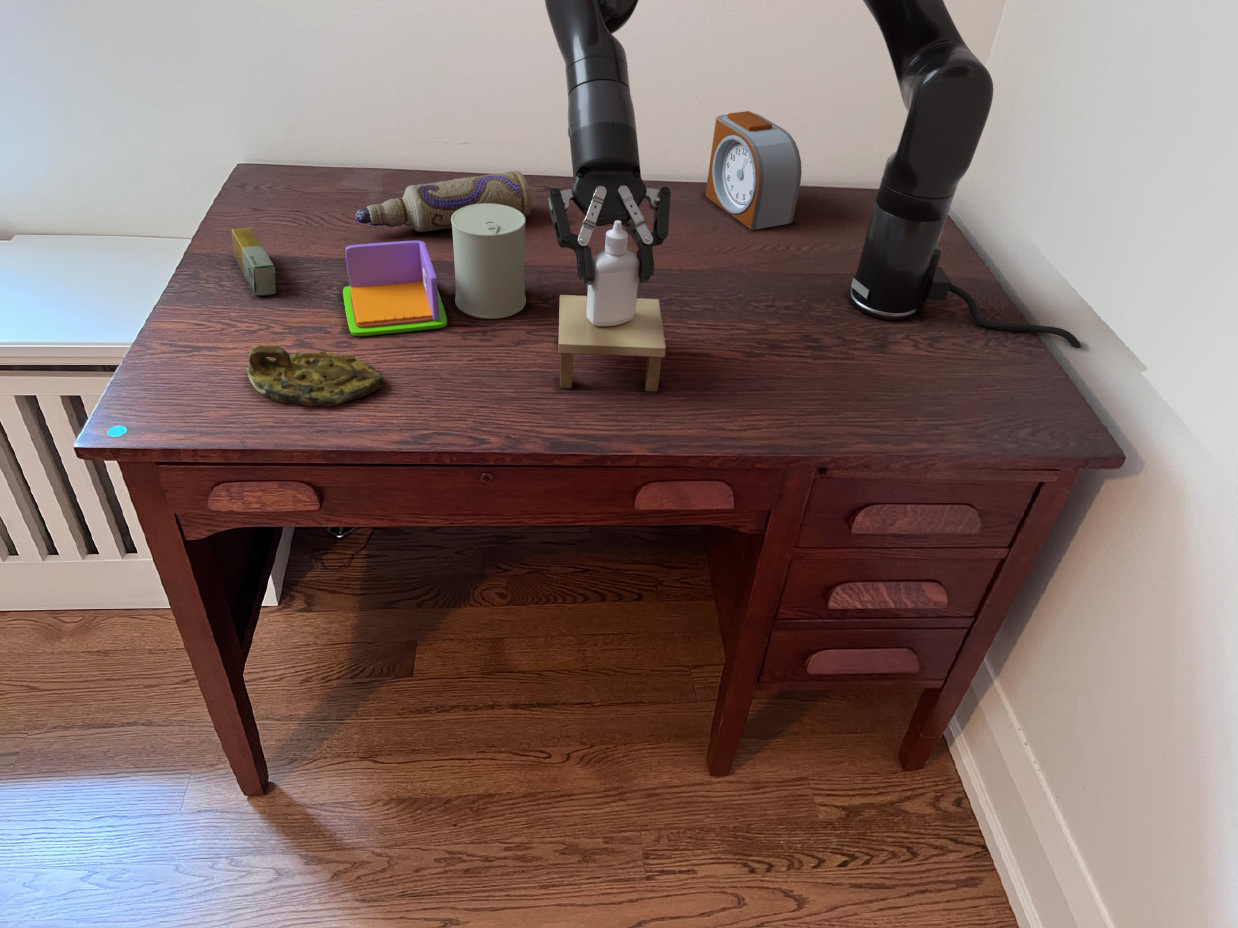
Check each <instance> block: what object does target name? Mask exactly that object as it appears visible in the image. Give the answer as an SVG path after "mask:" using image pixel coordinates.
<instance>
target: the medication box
mask: <svg viewBox="0 0 1238 928" xmlns="http://www.w3.org/2000/svg"><path fill="white" fill-rule="evenodd" d="M230 230H231V242H232V253H233V255H232V256H233V257H234V259H235V261H236V262H237V264H238V266H239V268H240V271H242V273H243V275H244V277H245V279H246V281H247V283H248V285H249V287H250V288H251V290H252V292H253V294H254V295H255V297H268V296H275V295H276V294H277V289H276V287H277V286H276V268H275V267H276V266H275V265H274V263H273V261H272V260H271V258H270V256H269V255H268V254H267V252H266V250H265V249H264V247H263V245H262V244H261V242H260V240H259V239H258V237H257V235H256V233H255V232H254V230H253V229H252V228H251V227H240V228H239V227H237V228H231V229H230Z"/></svg>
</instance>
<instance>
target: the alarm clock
mask: <svg viewBox="0 0 1238 928" xmlns="http://www.w3.org/2000/svg"><path fill="white" fill-rule="evenodd" d="M802 173H803V172H802V160H801V155H800V151H799V148H798V145H797V143H796V141H795V140H794V138H793V137H792V135H791V134H790V133H789V132H788V131H787V130H785V128H783V127H782V126H779V125H778V124H776V123H774V122H773V121H771V120H769V119H767V118H765V117H764V116H762V115H760V114H758V113H755V112H752V111H751V110H746V111H737V112H729V113H727V114H720V115H718V116H717V117H716V118H715V123H714V130H713V137H712V145H711V151H710V159H709V167H708V174H707V182H706V187H705V197H706V198H707V199H709V200H710V201H711V202H712V203H714V204H715V205H717V207H719V208H721V209H722V210H724V212H726V213H727V214H729V215H730V216H732V217H733V218H734V219H736V220H737V221H738V222H740V223H741V224H742V225H744V226H745V227H746V228H748V229H749V230H750V231H755V230H761V229H766V228H771V227H772V228H773V227H778V226H782V225H788V224H792V223H793V220H794V216H795V211H796V207H797V201H798V197H799V192H800V188H801V183H802V181H801V180H802Z"/></svg>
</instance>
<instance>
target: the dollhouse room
mask: <svg viewBox="0 0 1238 928" xmlns="http://www.w3.org/2000/svg"><path fill="white" fill-rule="evenodd" d="M344 253H345V260H346V270H347V276H348V277H347V278H348V282H349V285H347V286H345V287H344V288H343V289H342V296H343V305H344V311H345V316H346V322H347V326H348V330H349V333H350V335H351V336H353V337H368V336H369V337H370V336H379V335H390V334H400V333H408V332H409V333H410V332H419V331H427V330H435V329H442V328H445V327H447V325H448V318H447V315H446V311H445V307H444V304H443V302H442V298H441V295H440V293H439V289H438V277H437V275H436V271H435V268H434V265H433V262H432V259H431V256H430V253H429V250H428V248H427V244H426V242H425V241H422V240H403V241H388V242H387V241H385V242H374V243H360V244H354V245H353V244H351V245H347V246H346V247H345V251H344Z"/></svg>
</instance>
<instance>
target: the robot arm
mask: <svg viewBox="0 0 1238 928" xmlns="http://www.w3.org/2000/svg"><path fill="white" fill-rule="evenodd" d="M639 1H640V0H544V2H545V9H546V13H547V16H548V20H549V22H550V23H549V24H550V26H551V29H552V32H553V35H554V38H555V41H556V43H557V46H558V47H557V48H558V49H559V51H560V54H561V56H562V58H563V61H564V62H563V63H564V67H565V69H564V70H565V80H566V89H567V124H568V126H567V135H568V137H569V146H570V156H571V165H572V166H571V167H572V179H573V182H572V183H573V184H572V186H571V188H567V189H563V190H560V189H559V188H557V187H553V188H551V189H550V191H549V194H548V197H547V199H546V203H547V207H548V210H549V214H550V218H551V222H552V226H553V229H554V234H555V237H556V241H557V244H558V246H559V247H560V248H562V249H565V248H567V249H570V250H572V251H573V252H574V254H575V260H576V268H577V277H578V279H579V281H583V284H584V286H588V285H592V283H593V281H594V275H593V265H592V258H593V256H592V246H589V242H590V240H591V237H592V234H593V232H594V229H595V226H596V227H604V226H608V225H612V226H614V222H615V221H616V220H619V221H621V225H622V227H623V226H624V229H625V230H626V232H627V234H628V236H631V238H632V239H633V242H634V243H635V245H636V246H637V247H636V248H637V249H638V250H637V251H636V256H637V257H638V259H639V262H640V267H639V279H638V282H639V283H640V284H647V283H648V282H649V281H650V279H651V277H652V276H653V275H654V274H655V261H654V250H653V247H656V246H661V245H662V244H663V243H664V241H665V239H666V238H667V237H668V236H669V228H670V227H669V225H670V210H671V209H670V207H671V193H672V191H671V189H670V188H669V187H668V186H662V187H661V188H660V189H659V188H651V187H647V186H646V184H645V182H644V181H643V178H642V175H641V163H640V154H639V143H638V133H637V123H636V114H635V108H634V107H635V106H634V104H633V100H632V99H633V98H632V94H631V86H630V85H631V84H630V75H629V65H628V58H627V54H626V50H625V48H624V46H623V44H622V43H621V42H620V41H619V39H617V38H616V37H615V36H614V35H613V34H615V33H617V32H618V31H619V30H620V29H622V28H623V27H624V26H625V25H626V24H627V23H628V21H629V20H630V19H631V17H632V15H633V14H634V12H635V10H636V8H637V6H638V3H639ZM862 1H863V3H864V5H865V6H866V8H867V9H868V11H869V13H870V14H871V15H872V17H873V19H874V21H875V22H876V24H877V26H878V28H879V30H880V32H881V35H882V37H883V40H884V42H885V46H886V48H887V52H888V54H889V57H890V61H891V64H892V68H893V71H894V73H895V77H896V81H897V84H898V88H899V91H900V96H901V98H902V102H903V105H904V107H905V108H906V110H907V115H906V119H905V122H904V126H903V129H902V132H901V136H900V139H899V142H898V145H897V149H896V151H895V152H893V153H891V154H890V155H889V156H888V158H887V159H886V162H885V164H884V168H883V173H882V177H881V180H880V183H879V188H878V191H877V193H876V198H875V203H874V206H873V209H872V213H871V217H870V221H869V224H868V227H867V232H866V235H865V240H864V242H863V246H862V251H861V254H860V257H859V262H858V265H857V269H856V273H855V276H854V277H853V278H852V281H851V284H850V287H851V288H850V291H849V297H848V299H849V301H850V303H851V304H852V306H853V307H854V308H856V309H857V310H858V311H860V312H861V313H863V314H865V315H868V316H870V317H873V318H876V319H881V320H887V321H902V320H907V319H910V318H913V317H914V316H917V317H918V316H919V317H921V316H922V315H923V311H924V308H925V306H926V302H927V300H928V301H929V300H930V301H946V300H947V297H948V295H949V292H950V293H952V294H954V295H956V296H958V297H959V298H960V299H962V300H963V301H964V302H965V303H966V304H967V306H968V309H969V313H970V317H971V319H972V321H973V322H974V323H976V324H977V325H979V326H980V327H983V328H987V329H998V330H1005V331H1006V330H1007V331H1023V332H1024V331H1025V332H1031V333H1039V334H1047V335H1049V334H1050V335H1055V336H1059V337H1061V338H1064V339H1065V340H1066V341H1067V342H1068V343H1069V344H1070V346H1072V347H1073V348H1076V349H1081V348H1082V346H1081V343H1080V341H1079V340H1078V338H1077V337H1076V336H1075V335H1074V334H1073V333H1071V332H1070V331H1068V330H1066V329H1064V328H1060V327H1055V326H1049V325H1048V326H1047V325H1038V324H1031V323H1022V322H1008V321H1007V322H1005V321H995V320H988V319H985V318H983V317H982V316H981V315H980V314H979V310H978V305H977V302H976V301H975V299H974V298H973V297H972V295H970V294H969V293H968V292H967V291H965V290H964V289H962V288H961V287H958V286H956V285H954V284H952V280H950V278H949V277H948V275H947V273H946V272H945V271H944V269H943V268H942V266H939V263H940V260H941V257H942V250H941V248H940V247H939V243H940V240H941V237H942V234H943V230H944V228H945V225H946V223H947V219H948V215H949V212H950V209H951V206H952V203H953V200H954V197H955V194H956V192H957V189H958V186H959V183H960V181H961V180H962V178H964V176H965V174H966V173H967V172H968V170H969V168H970V166H971V163H972V161H973V158H974V156H975V153H976V152H977V148H978V145H979V143H980V140H981V137H982V135H983V132H984V129H985V126H986V124H987V120H988V118H989V114H990V111H991V108H992V103H993V98H994V82H993V78H992V75H991V74H990V71H989V70H988V68H987V67H986V66H985V65H984V64H983V63H982V62H981V61H980V59H979V58H978V57H977V56H976V55H975V54H974V53H973V52H972V51H971V49H970V48H969V46H968V45H967V43H966V42H965V41H964V39H963V36H962V35H961V34H960V31H959V29H958V28H957V26H956V24H955V22H954V20H953V18H952V16H951V14H950V12H949V9H948V7H947V6H946V4H945V1H944V0H862ZM643 200H646V201H648V206H649V208H650V209H651V210H653V226H652V232H651V231H650V230H649V227H648V226H647V225H646V219H645V218H644V217H645V216H644V215H643V213H642V212H641V210H640V208H639V207H640V206H641V204H642V203H643ZM571 201H572V202H573V203H574V204H575V205H576V206H577V208H578V209H579V210H580V212H581V213H582V214H583V215H584V218H583V221H582V223H581V226H580V229H579V233H578V234H575V233H573V232H572V230H571V226H570V222H569V218H568V214H567V211H568V210H569V207H570V202H571Z"/></svg>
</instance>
